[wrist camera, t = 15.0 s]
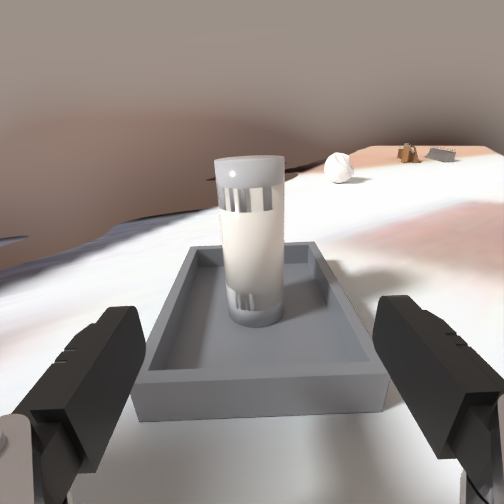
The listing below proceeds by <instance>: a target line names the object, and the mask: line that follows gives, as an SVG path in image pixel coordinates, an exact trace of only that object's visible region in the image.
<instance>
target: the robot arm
mask: <svg viewBox="0 0 504 504" xmlns="http://www.w3.org/2000/svg"><path fill="white" fill-rule="evenodd" d="M373 344H374V348H375V351H376V353H377V355H378V356H379V358H380V360H381V361H382V363H383V365H384V367H385V368H386V370H387V372H388V374H389V375H390V377H391V379H392V380H393V382H394V384H395V386H396V387H397V389H398V391H399V393H400V394H401V396H402V398H403V400H404V401H405V403H406V405H407V406H408V408H409V410H410V412H411V413H412V415H413V417H414V419H415V420H416V422H417V424H418V426H419V427H420V429H421V431H422V432H423V434H424V436H425V438H426V439H427V441H428V443H429V445H430V446H431V448H432V450H433V452H434V453H435V455H436V457H437V458H438V459H456V458H457V459H458V461H459V462H460V464H461V466H462V467H463V471H462V473H461V478H460V504H504V379H503V378H502V377H501V376H500V375H499V374H498V373H497V372H496V371H495V370H494V369H493V368H492V367H491V366H490V365H489V364H488V363H487V362H486V361H485V360H484V359H483V358H482V357H481V356H480V355H479V354H477V353H476V352H475V351H474V350H473V349H472V348H471V347H468V345H467V343H466V342H465V341H464V340H463V339H462V338H461V337H460V336H457V334H456V332H455V331H454V330H453V329H452V328H451V327H450V326H449V325H448V324H447V323H446V322H445V321H444V320H442V319H441V318H439V317H437V316H436V315H434V314H432V313H431V312H429V311H427V310H422V309H421V308H420V307H419V306H418V305H417V304H416V303H415V302H414V301H413V300H412V299H411V298H410V297H409V296H408V295H393V296H382V297H380V299H379V302H378V307H377V312H376V318H375V323H374V328H373ZM145 354H146V342H145V338H144V334H143V330H142V326H141V323H140V319H139V315H138V311H137V309H136V307H135V306H120V307H109V308H107V309H106V310H105V312H104V313H103V314H102V316H101V317H100V318H99V320H98V321H97V322H96V323H91V324H90V325H89V326H87V327H86V328H85V329H83V330H82V331H80V332H79V333H78V334H76V335H75V336H74V338H73V339H72V340H71V341H70V342H69V344H68V345H67V346H66V347H65V349H64V352H61V353H60V355H59V356H58V357H57V358H56V360H55V363H54V364H51V366H50V367H49V368H48V369H47V371H46V372H45V373H44V374H43V375H42V377H41V378H40V379H39V380H38V382H37V383H36V384H35V385H34V386H33V388H32V389H31V390H30V391H29V393H28V394H27V395H26V396H25V397H24V399H23V400H22V401H21V402H20V404H19V405H18V406H17V407H16V408H15V410H14V411H13V412H12V413H11V414H9V415H4V416H1V417H0V504H73V499H72V494H71V491H70V487H71V485H72V483H73V481H74V479H75V477H76V475H77V474H78V473H95V472H96V470H97V468H98V466H99V463H100V461H101V459H102V456H103V454H104V452H105V450H106V447H107V445H108V443H109V440H110V438H111V436H112V433H113V431H114V429H115V427H116V424H117V422H118V420H119V417H120V415H121V413H122V410H123V408H124V406H125V404H126V401H127V399H128V397H129V394H130V392H131V390H132V387H133V385H134V383H135V381H136V378H137V376H138V374H139V371H140V369H141V367H142V364H143V362H144V359H145Z"/></svg>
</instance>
